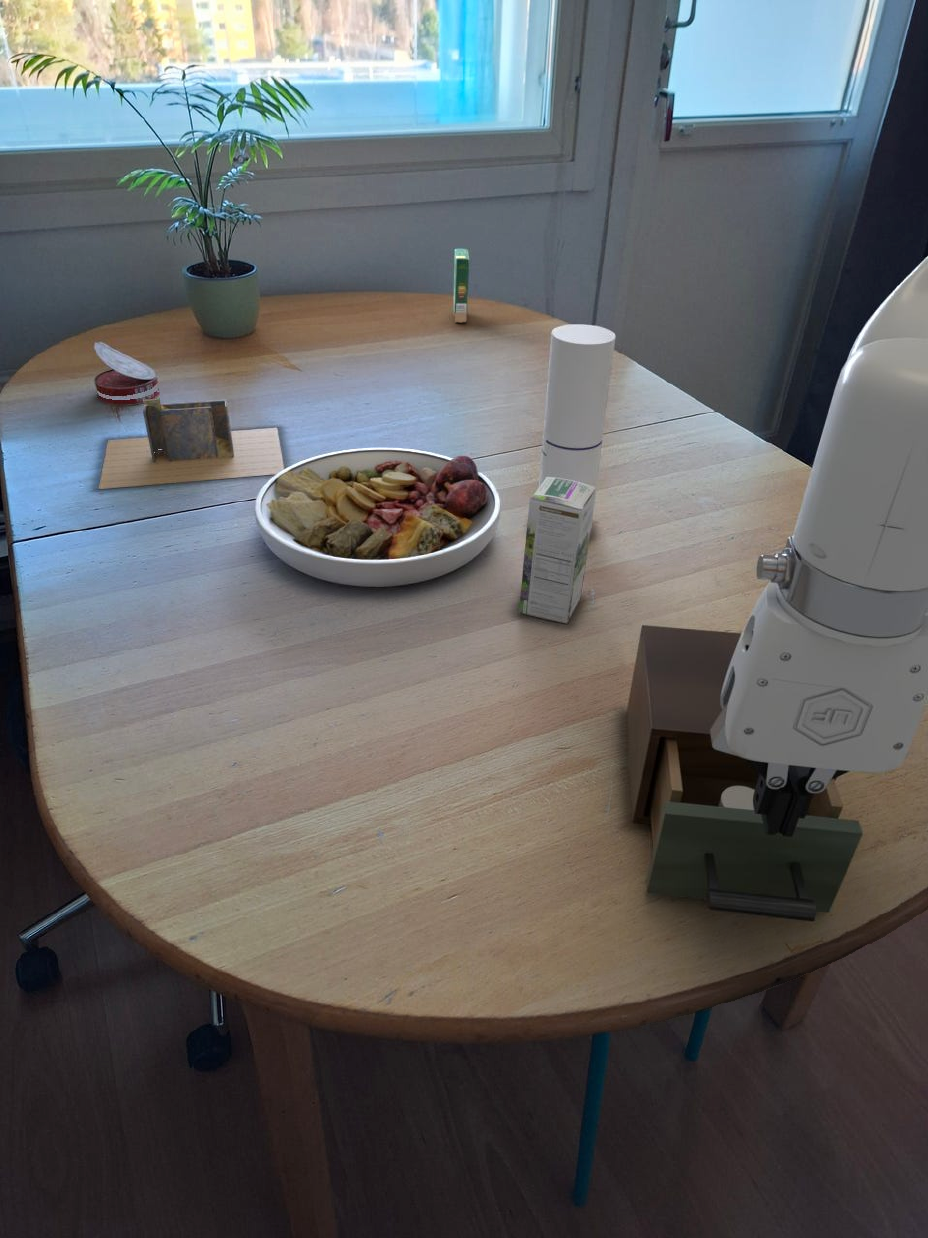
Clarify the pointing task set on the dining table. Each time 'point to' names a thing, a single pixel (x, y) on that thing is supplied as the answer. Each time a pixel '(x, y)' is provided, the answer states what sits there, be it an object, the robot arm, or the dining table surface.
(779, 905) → the drawer
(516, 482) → the dining table surface
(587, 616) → the dining table surface
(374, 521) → the bowl
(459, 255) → the coffee box
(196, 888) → the dining table surface
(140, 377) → the canned food
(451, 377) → the dining table surface
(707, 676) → the cabinet
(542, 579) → the syrup box
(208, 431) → the ruin model on sheet
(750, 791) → the white cylinder
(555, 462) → the cylindrical container
